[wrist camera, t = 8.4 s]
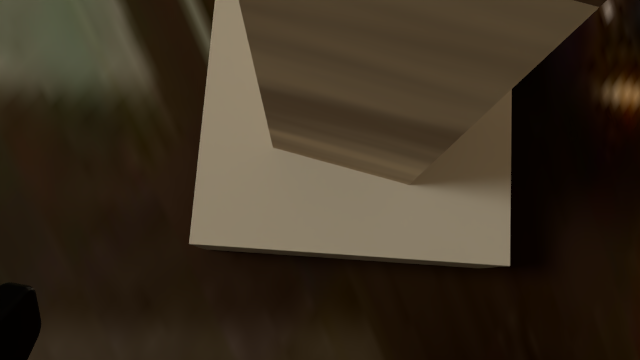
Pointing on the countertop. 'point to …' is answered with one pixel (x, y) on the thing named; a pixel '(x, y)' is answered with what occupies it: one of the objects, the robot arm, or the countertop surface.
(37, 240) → the countertop surface
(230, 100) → the base slab
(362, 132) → the oak post
